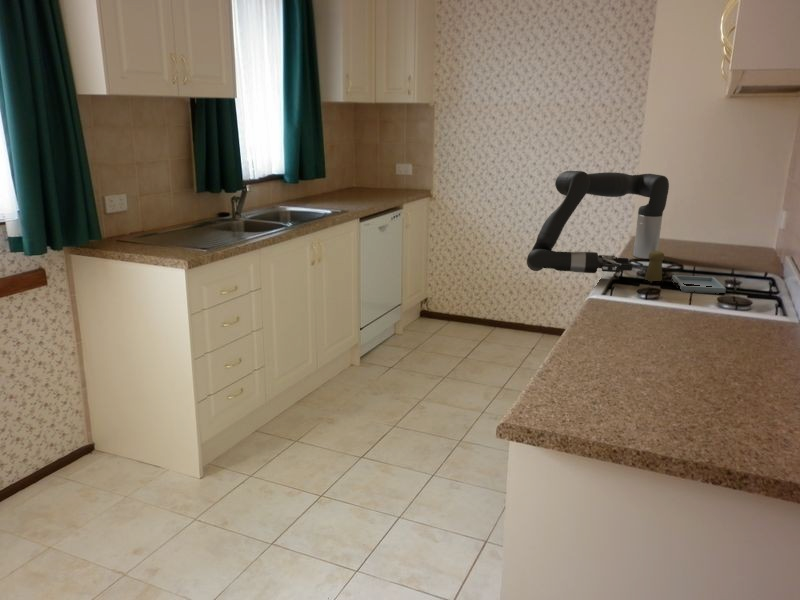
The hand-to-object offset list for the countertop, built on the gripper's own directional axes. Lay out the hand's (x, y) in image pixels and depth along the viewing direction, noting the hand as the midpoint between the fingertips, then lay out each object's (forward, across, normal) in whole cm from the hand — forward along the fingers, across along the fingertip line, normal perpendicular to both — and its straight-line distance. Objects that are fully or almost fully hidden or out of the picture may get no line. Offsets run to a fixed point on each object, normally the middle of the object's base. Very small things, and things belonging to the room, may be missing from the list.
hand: (630, 264), depth 233 cm
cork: (+8, 0, +6) cm, 11 cm away
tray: (+22, -4, +6) cm, 24 cm away
